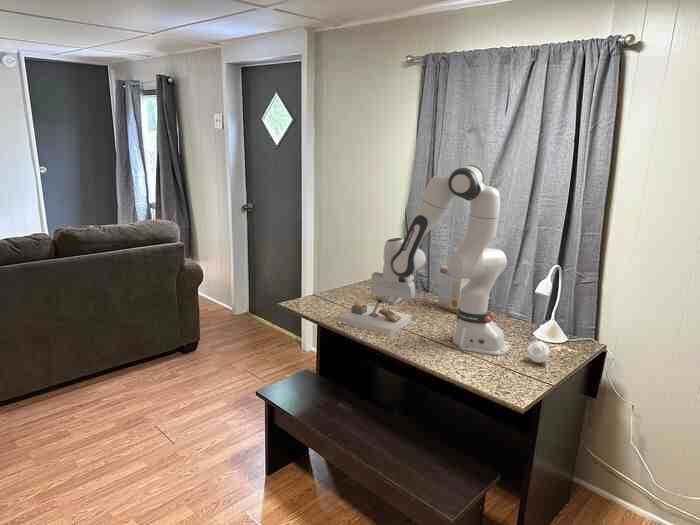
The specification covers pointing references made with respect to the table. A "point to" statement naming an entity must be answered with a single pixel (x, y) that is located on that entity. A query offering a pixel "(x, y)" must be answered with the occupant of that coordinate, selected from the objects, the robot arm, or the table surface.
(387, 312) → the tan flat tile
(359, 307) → the push button
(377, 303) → the toggle lever
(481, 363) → the table surface
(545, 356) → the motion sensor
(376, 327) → the switch panel
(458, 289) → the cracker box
